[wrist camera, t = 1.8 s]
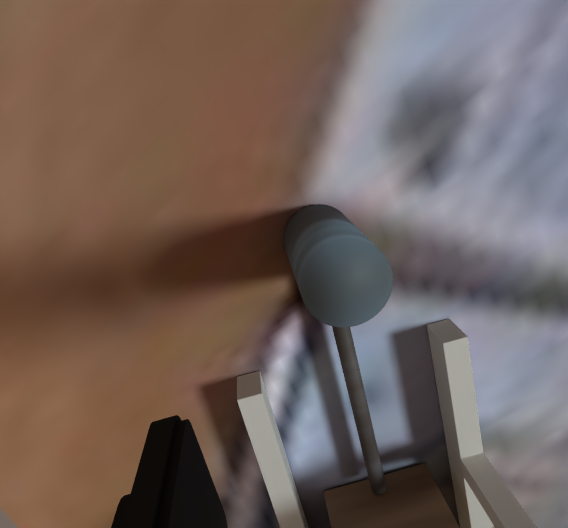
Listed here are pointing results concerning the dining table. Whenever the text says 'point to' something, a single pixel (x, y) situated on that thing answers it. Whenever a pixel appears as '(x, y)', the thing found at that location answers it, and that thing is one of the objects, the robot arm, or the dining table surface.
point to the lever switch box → (457, 428)
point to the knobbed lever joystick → (341, 316)
